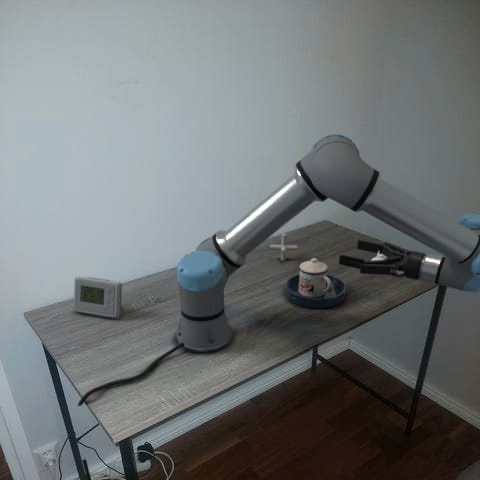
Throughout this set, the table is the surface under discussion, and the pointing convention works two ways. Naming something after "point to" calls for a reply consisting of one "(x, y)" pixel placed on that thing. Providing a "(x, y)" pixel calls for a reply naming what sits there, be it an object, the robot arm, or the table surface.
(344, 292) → the bowl
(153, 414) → the table surface
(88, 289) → the digital clock
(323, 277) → the teacup with lid
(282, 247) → the pipe connector
